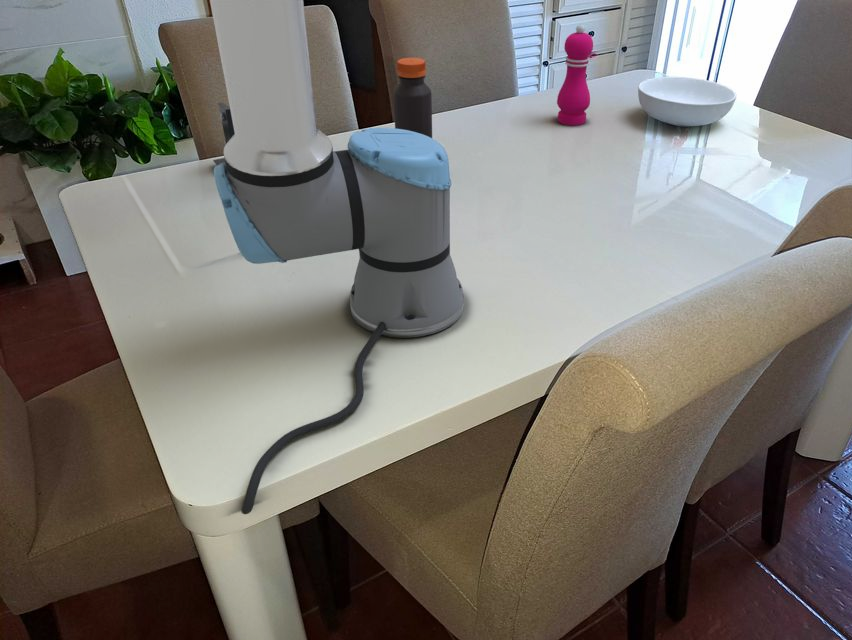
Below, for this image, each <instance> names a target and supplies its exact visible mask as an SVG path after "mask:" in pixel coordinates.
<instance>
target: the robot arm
mask: <svg viewBox="0 0 852 640" xmlns="http://www.w3.org/2000/svg"><path fill="white" fill-rule="evenodd" d="M209 3H210V9H211V15H212V20H213V25H214V29H215V30H214V31H215V36H216V40H217V46H218V52H219V56H220V62H221V67H222V73H223V79H224V83H225V88H226V89H225V90H226V94H227V100H228V104H229V108H230V111H231V116H232V121H233V127H234V132H235V134H234V135H233V137H232V138H231V139H230V140H229V141H228V142H227V144H226V143H225V145H224V148H223V158H225V163H221V164H220V165H217V164H216V166H214V168H213V177H214V181H215V185H216V189H217V192H218V196H219V197H220V200H221V204H222V207H223V211H224V215H225V217H226V220H227V223H228V226H229V229H230V232H231V235H232V237H233V239H234V242H235V244H236V247H237V250H238V251H239V253H240V255H241V256H242V257H243V258H244V259H245V260H246V261H247V262H249V263H251V264H254V265H255V264H256V265H261V264H269V263H270V264H271V263H281V264H284V263H287V262H288V261H292V260H294V261H295V260H301V259H306V258H312V257H318V256H325V255H330V254H336V253H337V254H338V253H342V252H349V251H355V250H358V254H359V259H358V263H357V267H356V270H355V275H354V280H353V284H352V285H351V289H350V293H349V306H350V314H351V316H352V318H353V320H354V321H355V322H356V324H358V325H359V326H360V327H361V328H363V329H365V330H367V331H368V332H371V333H372V334H371V336H370V338H369V339H368V340H367V342H366V343H365V345H364V346H363V348H362V349H361V351H360V353H359V354H358V355H357V356H358V357H357V359H356V361H355V364H354V383H355V392H354V396H353V398H352V400H351V401H350V402H349V403H348V405H347V406H345V407H344V408H342V409H341V410H339V411H338V412H336V413H334V414H332V415H330V416H327V417H324V418H322V419H321V418H320V419H318V420H315V421H312V422H309V423H307V424H304V425H301V426H299V427H297V428H294V429H293V430H290V431H289V432H287V433H285V434H284V435H283V436H281V437H280V438H279V439H277V440H276V441H275V442H274V443H273V444H272V445H271V446H270V447H268V448H267V450H266V451H265V452H264V453H263V454H262V456H261V457H260V458H259V460H258V461H257V463H256V464H255V466H254V468H253V471H252V473H251V476H250V479H249V482H248V485H247V489H246V492H245V495H244V499H243V503H242V506H241V507H242V508H241V513H242V515H249V514H250V513H251V512H252V511H253V509H254V504H255V500H256V497H257V493H258V489H259V486H260V482H261V479H262V477H263V474H264V472H265V470H266V468H267V466H268V464H269V463H270V461H271V460H272V459H273V458H274V457H275V456H276V455H277V454H278V453H279V452H280V451H281V450H282V449H283V448H284V447H286V446H287V445H288V444H290V443H291V442H293V441H294V440H297V439H298V438H300V437H303V436H304V435H307V434H309V433H312V432H315V431H318V430H321V429H324V428H327V427H330V426H333V425H335V424H337V423H339V422H341V421H343V420H344V419H346V418H347V417H349V416H350V415H351V414H352V413H353V412H354V411H356V410H357V408H358V407H359V406H360V404H361V402H362V400H363V397H364V393H365V391H364V390H365V388H364V387H365V386H364V378H363V369H364V365H365V361H366V359H367V358H368V356H369V354H370V353H371V351H372V350H373V348H374V347H375V345H376V344H377V342H378V340H379V339H380V337H381V336H384V337H389V338H398V339H401V338H402V339H407V338H408V339H409V338H410V339H411V338H420V337H425V336H429V335H434V334H436V333H439V332H441V331H443V330H445V329H447V328H449V327H451V326H453V324H455V323H456V322H457V321H458V320H459V318H461V316H462V314H463V311H464V307H465V296H464V289H463V286H462V283H461V281H460V279H459V278H458V277H457V271H456V267H455V265H454V262H453V259H452V256H451V218H450V217H451V215H450V214H451V210H450V209H451V187H452V180H451V175H450V174H451V173H450V164H449V163H450V162H449V156H448V153H447V151H446V149H445V148H444V146H443V145H442V144H441V143H439V142H438V141H437V140H435V139H434V138H433V137H432V138H430V137H428V136H426V135H423V134H420V133H417V132H413V131H408V130H403V129H395V127H370V128H364V129H362V130H360V131H356V132H353V133H352V134H351V135H350V137H349V139H348V140H349V141H348V142H347V149H343V150H335V151H334V148H333V143H332V140H331V139H330V137H329V136H327V134H325V133H324V132H322V131H321V130H320V129H318V128H317V120H316V119H317V118H316V111H315V110H316V109H315V100H314V92H313V82H312V73H311V72H312V71H311V64H310V63H311V62H310V55H309V54H310V53H309V44H308V35H307V34H308V33H307V26H306V24H307V23H306V16H305V6H304V0H209Z"/></svg>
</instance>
